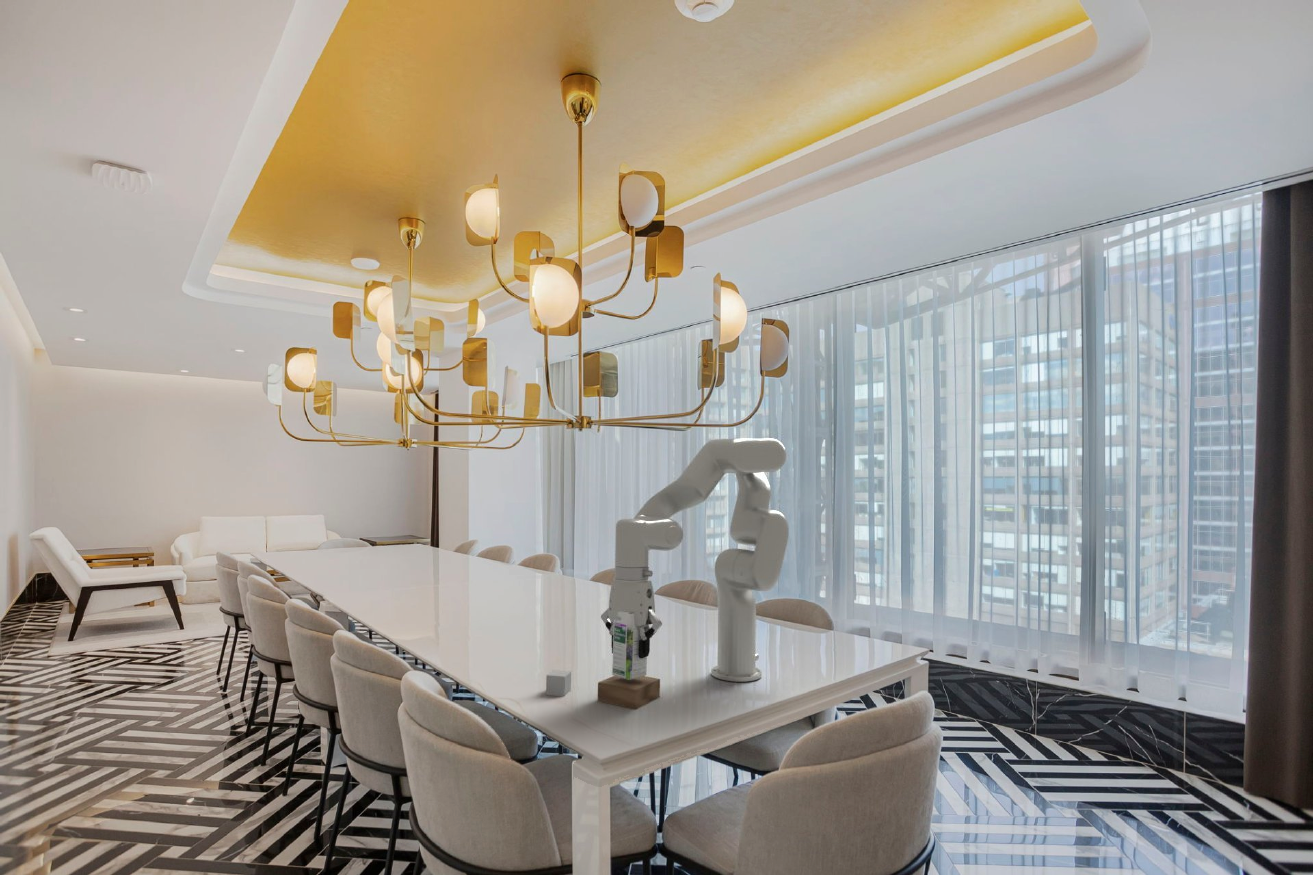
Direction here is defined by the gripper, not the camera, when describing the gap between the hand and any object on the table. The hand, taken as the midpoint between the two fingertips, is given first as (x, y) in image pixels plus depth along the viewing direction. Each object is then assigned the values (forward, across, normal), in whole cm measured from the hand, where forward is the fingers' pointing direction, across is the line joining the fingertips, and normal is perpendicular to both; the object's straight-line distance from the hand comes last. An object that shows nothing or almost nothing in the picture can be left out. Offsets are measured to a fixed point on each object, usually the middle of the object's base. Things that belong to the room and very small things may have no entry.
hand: (630, 654), depth 155 cm
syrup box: (+5, 0, 0) cm, 5 cm away
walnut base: (+10, 0, 0) cm, 10 cm away
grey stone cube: (+10, +16, +5) cm, 20 cm away
